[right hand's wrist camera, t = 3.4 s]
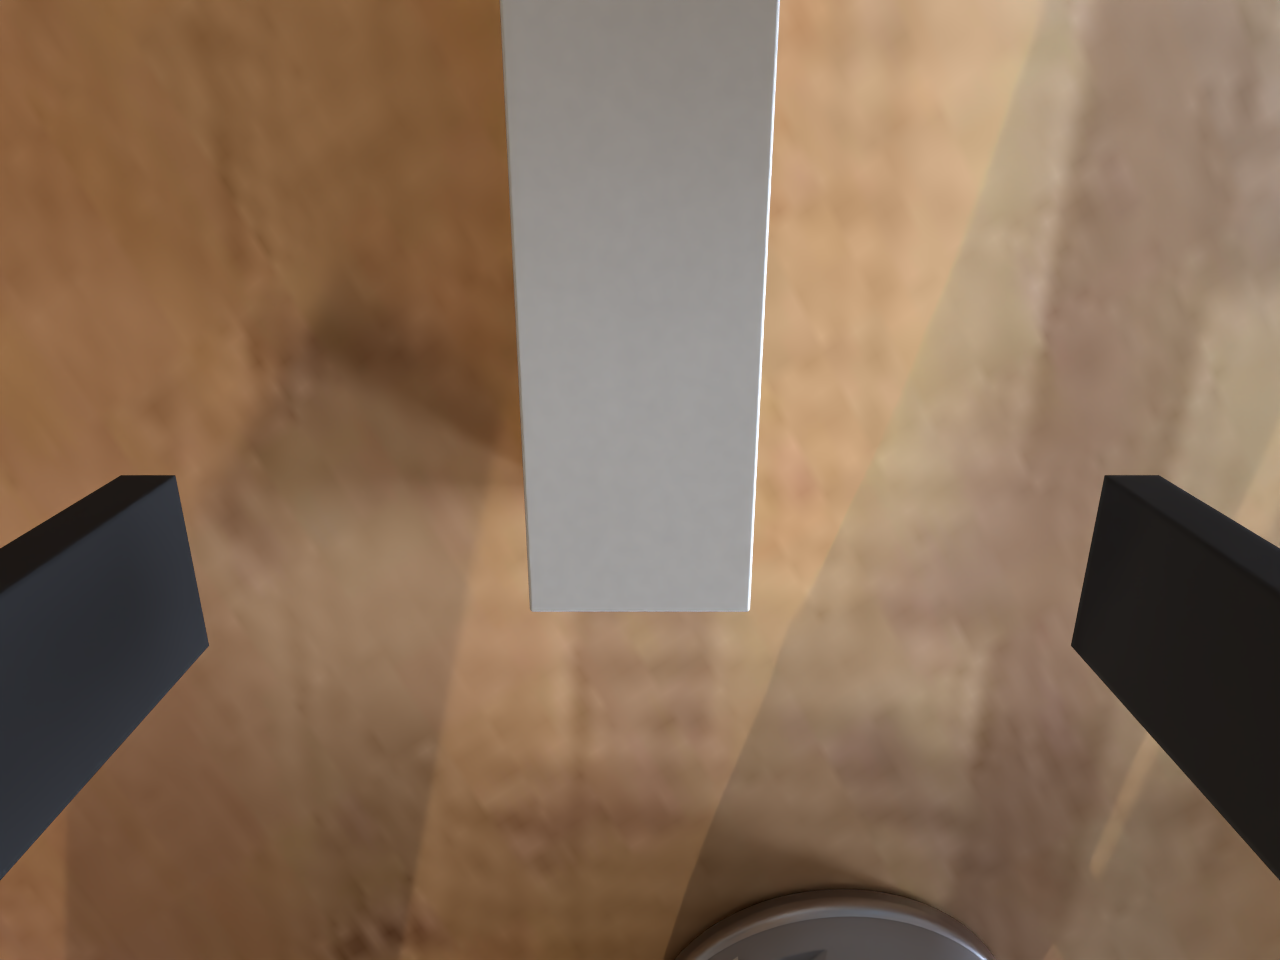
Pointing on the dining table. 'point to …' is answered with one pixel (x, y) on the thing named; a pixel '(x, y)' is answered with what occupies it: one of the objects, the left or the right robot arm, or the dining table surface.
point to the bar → (639, 293)
